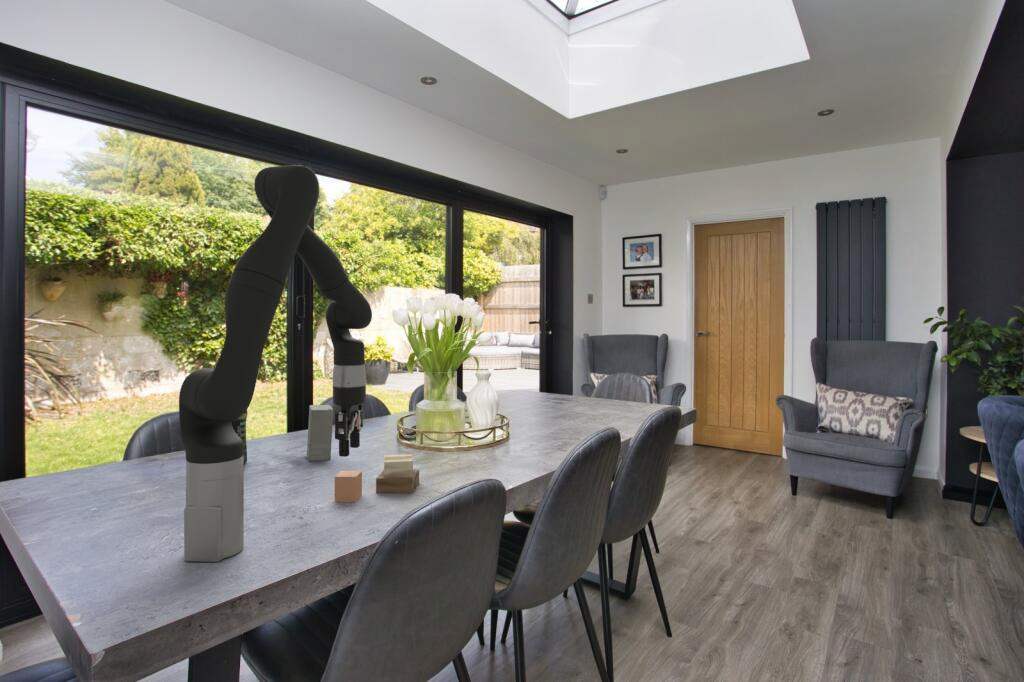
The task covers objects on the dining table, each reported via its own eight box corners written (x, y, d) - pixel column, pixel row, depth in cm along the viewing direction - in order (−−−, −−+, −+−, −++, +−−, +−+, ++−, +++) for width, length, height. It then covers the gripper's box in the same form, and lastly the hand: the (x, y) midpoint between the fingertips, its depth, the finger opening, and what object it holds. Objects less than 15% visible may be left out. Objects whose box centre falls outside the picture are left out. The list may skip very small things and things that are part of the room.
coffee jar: (232, 471, 153) (232, 404, 152) (205, 469, 154) (205, 403, 153) (252, 462, 163) (252, 399, 162) (227, 461, 164) (227, 398, 163)
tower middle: (412, 476, 138) (413, 460, 138) (384, 478, 136) (384, 462, 136) (411, 469, 144) (411, 454, 144) (384, 470, 143) (384, 455, 143)
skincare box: (306, 455, 172) (306, 405, 171) (330, 453, 175) (330, 403, 174) (308, 462, 164) (308, 409, 163) (333, 459, 167) (333, 407, 166)
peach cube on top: (356, 502, 129) (356, 476, 129) (334, 501, 129) (334, 476, 129) (361, 495, 134) (361, 471, 134) (341, 495, 134) (341, 470, 134)
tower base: (412, 495, 136) (412, 479, 136) (376, 494, 136) (376, 478, 136) (419, 484, 145) (419, 469, 145) (384, 483, 145) (385, 468, 145)
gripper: (356, 387, 123) (357, 459, 124) (372, 380, 138) (373, 444, 138) (323, 387, 123) (323, 459, 124) (342, 380, 138) (343, 444, 138)
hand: (349, 451), depth 131 cm, fingers open, 8 cm apart
